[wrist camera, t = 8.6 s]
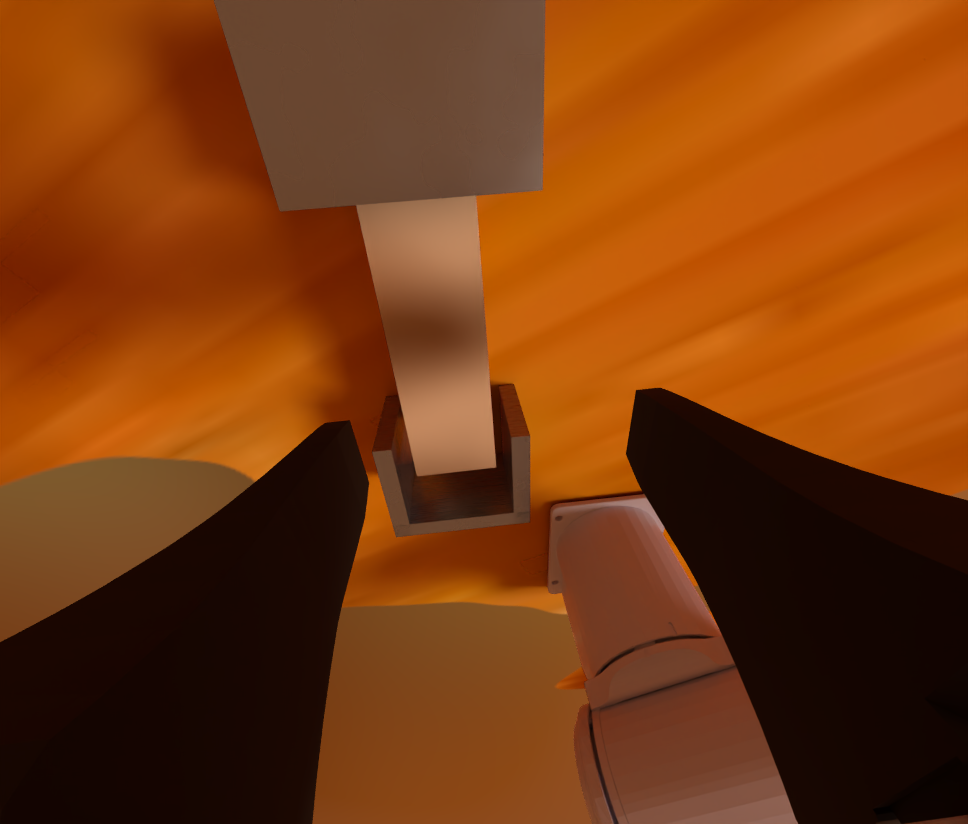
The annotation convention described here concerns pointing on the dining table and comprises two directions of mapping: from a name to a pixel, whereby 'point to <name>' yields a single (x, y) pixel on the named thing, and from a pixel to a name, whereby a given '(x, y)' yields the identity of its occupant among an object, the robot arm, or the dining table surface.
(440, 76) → the grey rectangular block
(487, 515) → the open end cap
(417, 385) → the light brown long block
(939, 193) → the dining table surface
